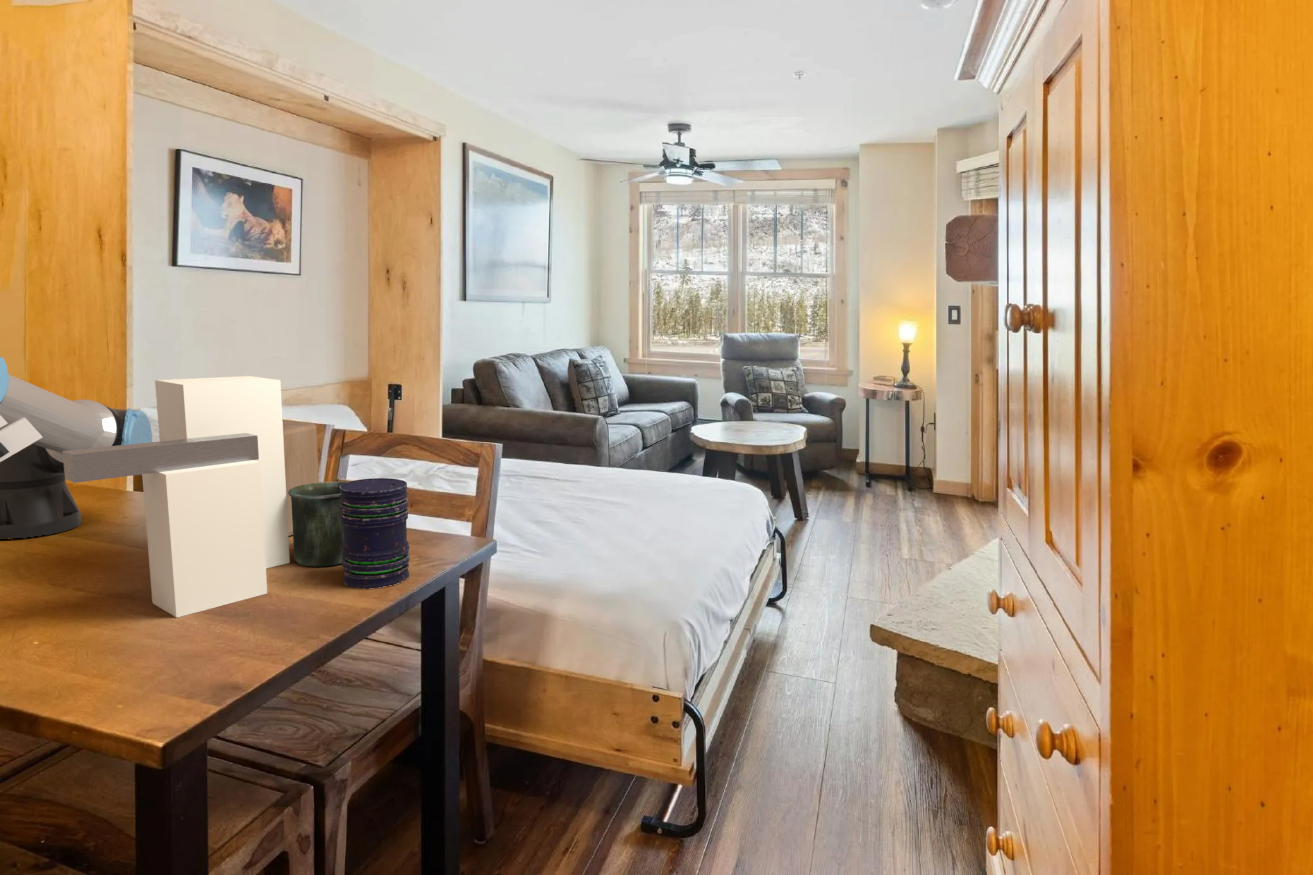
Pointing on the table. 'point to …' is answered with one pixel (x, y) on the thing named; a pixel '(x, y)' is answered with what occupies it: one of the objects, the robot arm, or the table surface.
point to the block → (299, 459)
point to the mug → (317, 524)
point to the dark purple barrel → (374, 532)
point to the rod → (158, 456)
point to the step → (205, 536)
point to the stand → (235, 411)
